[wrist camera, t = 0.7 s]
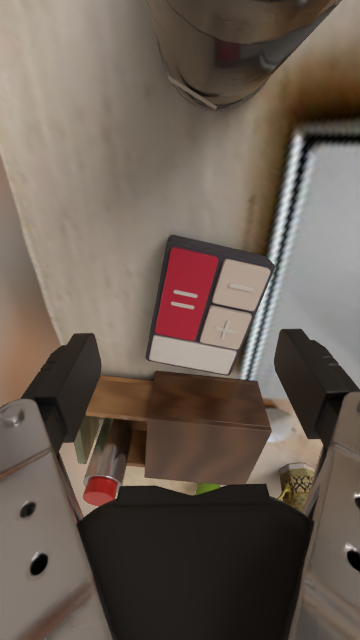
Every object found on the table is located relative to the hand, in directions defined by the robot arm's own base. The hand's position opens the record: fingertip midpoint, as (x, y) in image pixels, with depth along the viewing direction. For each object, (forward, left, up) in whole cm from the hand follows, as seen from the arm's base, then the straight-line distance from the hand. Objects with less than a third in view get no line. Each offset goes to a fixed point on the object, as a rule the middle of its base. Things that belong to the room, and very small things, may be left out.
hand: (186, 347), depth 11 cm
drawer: (+27, -8, -18) cm, 33 cm away
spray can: (+27, -7, -17) cm, 32 cm away
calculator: (+8, +2, -19) cm, 20 cm away
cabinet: (+27, +5, -19) cm, 33 cm away
